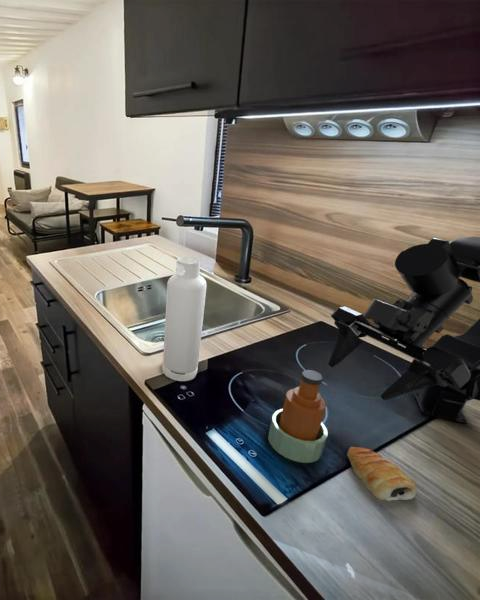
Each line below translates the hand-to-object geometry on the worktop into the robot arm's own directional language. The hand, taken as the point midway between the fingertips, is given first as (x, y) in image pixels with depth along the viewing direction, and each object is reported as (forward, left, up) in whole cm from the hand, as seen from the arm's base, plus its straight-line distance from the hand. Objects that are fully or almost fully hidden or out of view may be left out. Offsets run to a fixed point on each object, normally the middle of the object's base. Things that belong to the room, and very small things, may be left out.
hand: (354, 381), depth 60 cm
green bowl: (+4, -7, -14) cm, 16 cm away
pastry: (+6, +5, -14) cm, 16 cm away
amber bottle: (+4, -6, -13) cm, 15 cm away
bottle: (-10, -31, -14) cm, 35 cm away
